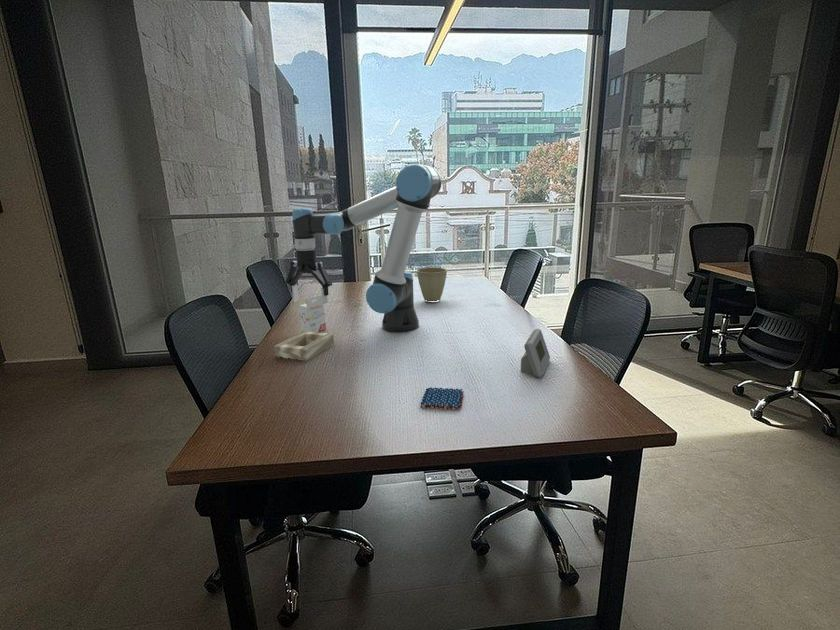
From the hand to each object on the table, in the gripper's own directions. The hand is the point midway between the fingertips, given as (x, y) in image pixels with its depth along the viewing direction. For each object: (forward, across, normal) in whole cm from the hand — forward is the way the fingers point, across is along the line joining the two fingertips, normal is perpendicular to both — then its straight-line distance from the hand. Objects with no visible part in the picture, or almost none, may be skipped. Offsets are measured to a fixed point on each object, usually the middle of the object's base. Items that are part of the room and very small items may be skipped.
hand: (310, 302), depth 174 cm
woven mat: (+12, +70, -42) cm, 82 cm away
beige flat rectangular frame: (+12, +11, -20) cm, 26 cm away
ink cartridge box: (+12, +1, 0) cm, 12 cm away
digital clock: (+11, +91, -13) cm, 92 cm away
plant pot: (+12, +32, +58) cm, 67 cm away
